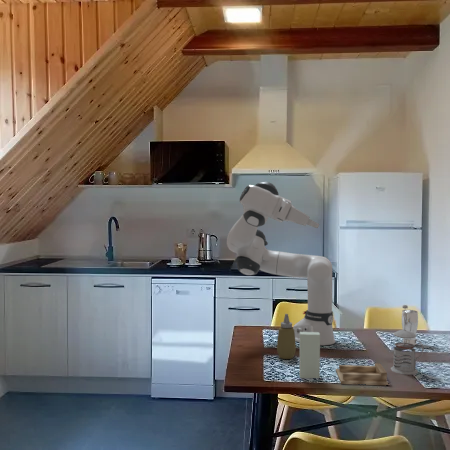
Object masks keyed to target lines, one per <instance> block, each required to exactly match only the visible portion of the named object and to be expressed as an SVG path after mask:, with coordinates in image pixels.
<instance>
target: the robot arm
mask: <svg viewBox="0 0 450 450" xmlns="http://www.w3.org/2000/svg"><path fill="white" fill-rule="evenodd" d="M239 202H240V205H242V207H243V214H242V215H241V216H240V217H239V219H237V220H236V222H235V223H234V224H233V226H232V227H231V228H230V230H229V232H228V233H227V238H226V246H227V248H228V250H229V251H230V252H232V253H234V254H236V258H235V259H234V261H235V262H236V267H237V270H238V271H239V272H240V273H241V274H243V275H246V276H255V275H257V274H258V272H259V271H261V272H264V273H268V274H271V275H276V276H283V277H290V278H303V279H304V278H305V279H306V280H307V281H306V282H307V310H305V311H303V312H302V315H304V316H303V318H302V319H300V320H299V321H298V322H296V323H295V324H294V325H293V326H292V328H293V329H294V332H295V342H298V343H300V332H319V334H320V346H330V345H333V344H335V343H336V340H335V339H336V338H335V336H334V335H335V334H334V327H333V321H334V312H333V264H332V262H331V261H330V260H329V258H327V257H325V256H322V255H321V256H320V255H314V254H301V253H292V252H288V251H287V252H286V251H278V250H270V249H267V248H266V246H267V245H268V244H269V242H267V239H266V235H265V234H264V232H263V231H262V230H260V229H258V228H259V227H262V226H264V225H265V224H266V223H267V221H268V219H269V218H270V219H272V220H275V221H276V222H279V223H283V222H292V223H295V224H298V225H300V226H305V227H306V226H311V227H313V228H316V229H318V228H319V226H320V224H319V223H318V222H316V221H315V220H312V219H310V216H309V215H308V214H306V213H305V212H303V211H302V210H299V209H298V208H296V207H295V205H293V204H292V201H291V200H290V199H287V198H285V197H283V196H281V195H280V194H279V192H278V188H276V186H275V185H274V184H273V183H271V182H270V181H269V182H268V181H262V182H261V181H260V182H258V183H256V184H255V185H253V184H249V185H247V186H246V187H245V188H244V189H243V191H242V192H241V195H240V197H239Z"/></svg>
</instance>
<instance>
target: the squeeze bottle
mask: <svg viewBox="0 0 450 450" xmlns="http://www.w3.org/2000/svg"><path fill="white" fill-rule="evenodd" d="M289 317H290V316H289V314H288V313H284V319H283V321H282V322H280V327H279V328H278V331H277V333H278V334H277V340H276V341H277V342H276V351H277V354H278V358H280V359H283V360H292V359H294V357H295V354H296V351H297V345H296V341H295V332H294V329H293V322H291V321H290V318H289Z"/></svg>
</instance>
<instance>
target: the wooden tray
mask: <svg viewBox="0 0 450 450" xmlns="http://www.w3.org/2000/svg"><path fill="white" fill-rule="evenodd" d="M338 366H339V367H338V368H335V373H336V375H337V378H338V380H339V382H341V383H340V384H341V385H358V384H366V386H386V385H388V386H389V383H388V372H387V371H386V369H385V368H384V366H383V365H382V364H381V363H374V365H356V364H355V365H352V364H350V365H349V364H339V365H338Z"/></svg>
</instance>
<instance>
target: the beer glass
mask: <svg viewBox="0 0 450 450" xmlns="http://www.w3.org/2000/svg"><path fill="white" fill-rule="evenodd" d="M401 311H402V312H401V328H402V330H404V327H405V330H407V331H410V332H412V333H414V334H415V335H416V337H415V338H405V343H409V344H413V345H414V346H417V345H418V344H417V343H418V342H416V343H415V340H416V339H417V332H418V331H417V330H418V325H419V315H418V314H419V313H418V311H417V310H414V309H402V310H401ZM401 342H402V343H404V338H402V341H401Z"/></svg>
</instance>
